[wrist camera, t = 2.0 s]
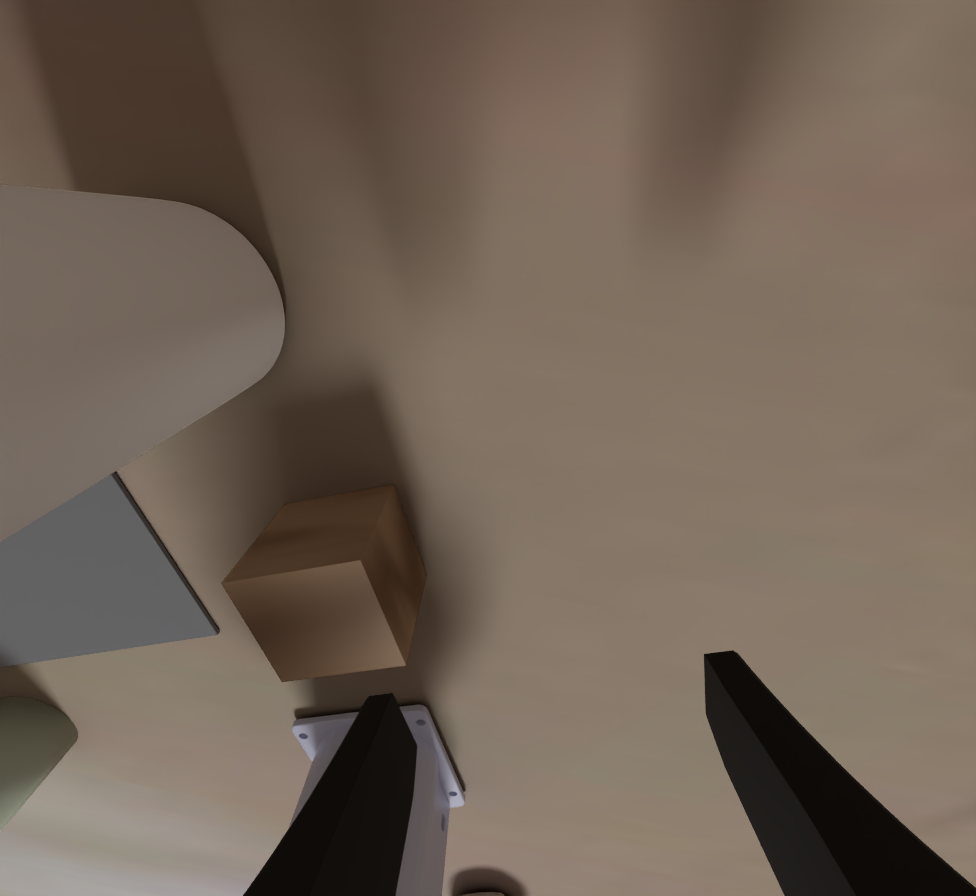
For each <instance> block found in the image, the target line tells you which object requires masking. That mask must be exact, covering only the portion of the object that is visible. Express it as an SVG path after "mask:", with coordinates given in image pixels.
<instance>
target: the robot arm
mask: <svg viewBox="0 0 976 896" xmlns="http://www.w3.org/2000/svg"><path fill="white" fill-rule="evenodd" d="M704 670H705V702H706V716H707V718H708V721H709V724H710V727H711V730H712V733H713V735H714V738H715V741H716V744H717V747H718V749H719V752H720V755H721V757H722V760H723V763H724V766H725V768H726V770H727V772H728V775H729V777H730V779H731V781H732V783H733V786H734V788H735V790H736V792H737V794H738V796H739V799H740V801H741V803H742V805H743V807H744V809H745V812H746V814H747V816H748V818H749V820H750V822H751V824H752V827H753V829H754V831H755V833H756V835H757V837H758V839H759V842H760V844H761V846H762V848H763V850H764V852H765V854H766V857H767V859H768V861H769V863H770V865H771V867H772V870H773V872H774V874H775V876H776V878H777V880H778V882H779V885H780V887H781V889H782V891H783V893H784V895H785V896H976V888H975V887H974V886H973V885H972V884H971V883H969V882H968V881H967V880H966V879H965V878H963V877H962V876H961V875H960V874H959V873H958V872H957V871H955V870H954V869H953V868H952V867H951V866H950V865H948V864H947V863H946V862H945V861H944V860H943V859H942V858H940V857H939V856H938V855H937V854H936V853H935V852H934V851H932V850H931V849H930V848H929V847H928V846H927V845H926V844H924V843H923V842H922V841H921V840H920V839H919V838H918V837H917V836H916V835H914V834H913V833H912V832H911V831H910V830H909V829H908V828H907V827H906V826H904V825H903V824H902V823H901V822H900V821H899V820H898V819H897V818H896V817H895V816H894V815H892V814H891V813H890V812H889V811H888V810H887V809H886V808H885V807H884V806H883V805H882V804H881V803H880V802H879V801H878V800H876V799H875V798H874V797H873V796H872V795H871V794H870V793H869V792H868V791H867V790H866V789H865V788H864V787H863V786H862V785H861V784H860V783H859V782H857V781H856V780H855V779H854V778H853V777H852V776H851V775H850V774H849V773H848V772H847V771H846V770H845V769H844V768H843V767H842V766H841V765H840V764H839V763H838V762H837V761H836V760H835V759H834V758H833V757H832V756H831V755H830V754H829V753H828V752H827V751H826V750H825V749H824V748H823V747H822V746H821V745H820V744H819V743H818V742H817V741H816V739H815V738H814V737H813V736H812V735H811V734H810V733H809V732H808V731H807V730H806V729H805V728H804V727H803V726H802V725H801V724H800V723H799V722H798V721H797V720H796V719H795V718H794V717H793V716H792V715H791V713H790V712H789V711H788V710H787V709H786V708H785V707H784V706H783V705H782V704H781V703H780V701H779V700H778V699H777V698H776V697H775V696H774V695H773V694H772V693H771V692H770V690H769V689H768V688H767V687H766V686H765V685H764V684H763V683H762V681H761V680H760V679H759V678H758V677H757V676H756V674H755V673H754V672H753V671H752V670H751V669H750V667H749V666H748V665H747V664H746V663H745V661H744V660H743V659H742V658H741V657H740V655H739V654H738V653H736V652H735V651H725V652H717V653H709V654H704ZM291 729H292V732H293V733H294V735H295V736H296V738H297V739H298V741H299V742H300V744H301V745H302V747H303V748H304V750H305V752H306V753H307V755H308V756H309V758H310V759H311V761H312V765H311V768H310V770H309V773H308V776H307V779H306V781H305V784H304V787H303V790H302V793H301V795H300V798H299V801H298V804H297V806H296V809H295V812H294V815H293V818H292V820H291V823H290V826H289V829H288V831H287V832H286V834H285V835H284V837H283V838H282V840H281V841H280V843H279V844H278V846H277V847H276V849H275V851H274V852H273V854H272V855H271V856H270V858H269V859H268V861H267V862H266V864H265V865H264V867H263V868H262V870H261V871H260V872H259V874H258V875H257V877H256V878H255V880H254V881H253V882H252V884H251V885H250V887H249V888H248V889H247V891H246V892H245V894H244V895H243V896H442V887H443V876H444V865H445V854H446V844H447V833H448V822H449V811H450V808H452V807H460V806H463V805H464V804H465V794H464V792H463V790H462V787H461V785H460V783H459V780H458V778H457V776H456V774H455V771H454V769H453V767H452V764H451V762H450V760H449V757H448V755H447V753H446V750H445V748H444V746H443V744H442V741H441V739H440V737H439V734H438V732H437V730H436V727H435V725H434V723H433V720H432V718H431V716H430V714H429V711H428V709H427V708H426V707H425V706H423V705H410V706H402V707H399V705H398V703H397V701H396V699H395V697H394V695H393V693H391V694H383V695H375V696H369V697H368V698H367V699H366V701H365V703H364V704H363V706H362V708H361V710H360V711H359V712H353V713H344V714H336V715H328V716H320V717H311V718H303V719H298V720H296V721H294V723H293V726H292V728H291Z"/></svg>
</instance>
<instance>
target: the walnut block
mask: <svg viewBox="0 0 976 896" xmlns="http://www.w3.org/2000/svg"><path fill="white" fill-rule="evenodd" d="M426 576H427V574H426V571H425V568H424V566H423V563H422V560H421V557H420V555H419V552H418V549H417V546H416V544H415V541H414V538H413V535H412V533H411V530H410V527H409V524H408V522H407V519H406V516H405V513H404V511H403V508H402V505H401V502H400V500H399V497H398V494H397V491H396V489H395V486H394V484H391V485H386V486H381V487H375V488H370V489H364V490H359V491H354V492H348V493H343V494H338V495H332V496H327V497H321V498H316V499H311V500H305V501H300V502H295V503H289V504H285V505H284V506H283V507H282V509H281V510H280V511H279V512H278V514H277V515H276V516H275V517H274V518H273V520H272V521H271V522H270V523H269V525H268V526H267V527H266V528H265V530H264V531H263V532H262V533H261V535H260V536H259V537H258V538H257V540H256V541H255V542H254V543H253V544H252V546H251V547H250V548H249V549H248V551H247V552H246V553H245V554H244V556H243V557H242V558H241V559H240V561H239V562H238V563H237V564H236V566H235V567H234V568H233V569H232V571H231V572H230V573H229V574H228V575H227V577H226V578H225V579H224V580H223V582H222V583H221V584H222V585H223V587H224V588H225V590H226V592H227V593H228V595H229V597H230V598H231V600H232V601H233V603H234V605H235V606H236V608H237V610H238V611H239V613H240V615H241V616H242V618H243V619H244V621H245V623H246V624H247V626H248V628H249V629H250V631H251V632H252V634H253V636H254V637H255V639H256V641H257V642H258V644H259V645H260V647H261V649H262V650H263V652H264V654H265V655H266V657H267V659H268V660H269V662H270V663H271V665H272V667H273V668H274V670H275V672H276V673H277V675H278V676H279V678H280V680H281V681H282V682H287V681H294V680H302V679H309V678H317V677H325V676H332V675H340V674H347V673H355V672H362V671H370V670H377V669H385V668H392V667H400V666H406V664H407V659H408V655H409V651H410V646H411V642H412V637H413V633H414V629H415V624H416V620H417V615H418V611H419V607H420V602H421V598H422V593H423V589H424V584H425V580H426Z"/></svg>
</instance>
